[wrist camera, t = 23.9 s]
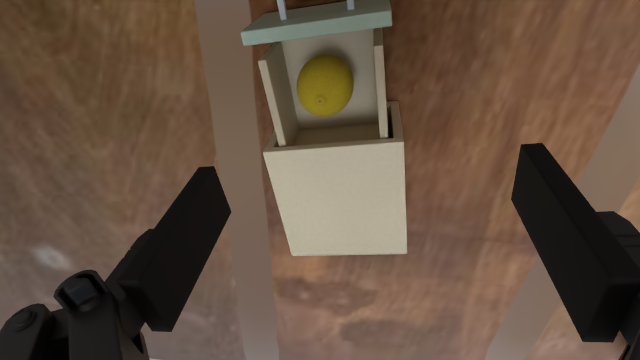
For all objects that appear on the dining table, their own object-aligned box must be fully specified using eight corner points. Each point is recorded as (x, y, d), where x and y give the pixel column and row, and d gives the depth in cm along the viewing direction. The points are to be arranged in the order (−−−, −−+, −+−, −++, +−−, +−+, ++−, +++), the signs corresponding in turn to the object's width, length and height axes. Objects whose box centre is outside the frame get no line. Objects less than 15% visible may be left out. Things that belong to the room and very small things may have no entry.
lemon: (361, 53, 37) (359, 80, 30) (347, 102, 40) (341, 136, 33) (309, 38, 36) (295, 62, 30) (298, 89, 40) (284, 120, 33)
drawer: (246, -59, 33) (216, -55, 27) (384, -86, 31) (387, -89, 24) (289, 132, 44) (275, 167, 38) (394, 123, 42) (397, 158, 35)
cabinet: (282, 111, 44) (262, 152, 36) (398, 100, 41) (404, 141, 33) (304, 205, 52) (291, 256, 44) (401, 201, 49) (407, 254, 41)
